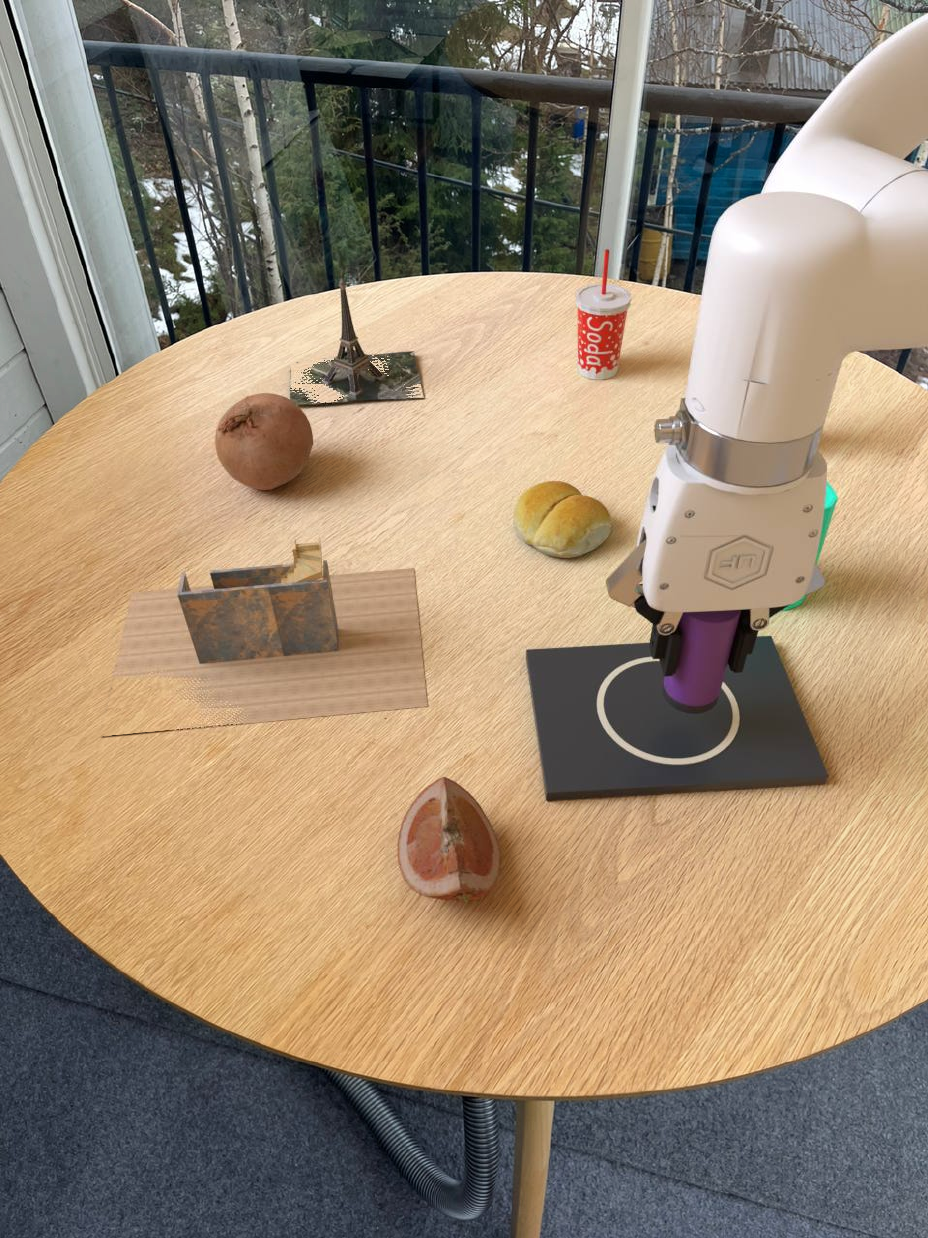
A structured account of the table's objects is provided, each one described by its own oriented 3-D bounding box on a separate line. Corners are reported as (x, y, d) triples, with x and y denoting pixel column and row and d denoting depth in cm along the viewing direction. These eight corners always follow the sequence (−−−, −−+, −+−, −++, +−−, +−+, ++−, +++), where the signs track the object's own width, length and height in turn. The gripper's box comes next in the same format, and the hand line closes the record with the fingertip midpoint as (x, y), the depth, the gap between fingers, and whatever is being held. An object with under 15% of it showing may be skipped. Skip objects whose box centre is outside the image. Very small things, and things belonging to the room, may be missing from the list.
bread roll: (555, 491, 92) (557, 457, 90) (623, 534, 87) (627, 499, 85) (493, 526, 89) (493, 491, 86) (559, 573, 84) (562, 538, 81)
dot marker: (711, 670, 69) (732, 579, 63) (724, 712, 66) (748, 621, 60) (657, 673, 69) (673, 582, 63) (668, 715, 66) (686, 624, 60)
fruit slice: (510, 921, 60) (511, 880, 56) (405, 935, 59) (400, 895, 56) (490, 811, 66) (490, 768, 62) (395, 823, 65) (389, 781, 62)
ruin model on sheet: (413, 568, 85) (406, 479, 78) (427, 706, 73) (420, 616, 66) (131, 592, 83) (99, 504, 76) (100, 737, 71) (58, 649, 65)
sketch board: (769, 643, 77) (771, 634, 76) (825, 784, 67) (829, 775, 66) (525, 657, 76) (525, 648, 76) (546, 801, 66) (546, 792, 66)
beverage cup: (560, 373, 108) (567, 253, 99) (587, 351, 112) (595, 233, 102) (607, 388, 106) (619, 267, 96) (633, 365, 109) (646, 245, 100)
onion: (259, 523, 95) (210, 472, 86) (232, 455, 99) (182, 400, 90) (341, 477, 94) (300, 422, 85) (311, 411, 98) (268, 352, 89)
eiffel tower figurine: (416, 354, 112) (409, 243, 103) (424, 398, 105) (417, 283, 96) (290, 365, 111) (271, 254, 102) (290, 410, 104) (269, 295, 95)
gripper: (609, 481, 49) (585, 707, 62) (923, 466, 50) (835, 694, 63) (588, 405, 55) (570, 628, 68) (871, 392, 55) (800, 616, 68)
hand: (698, 657), depth 65 cm, fingers closed on dot marker, 4 cm apart
